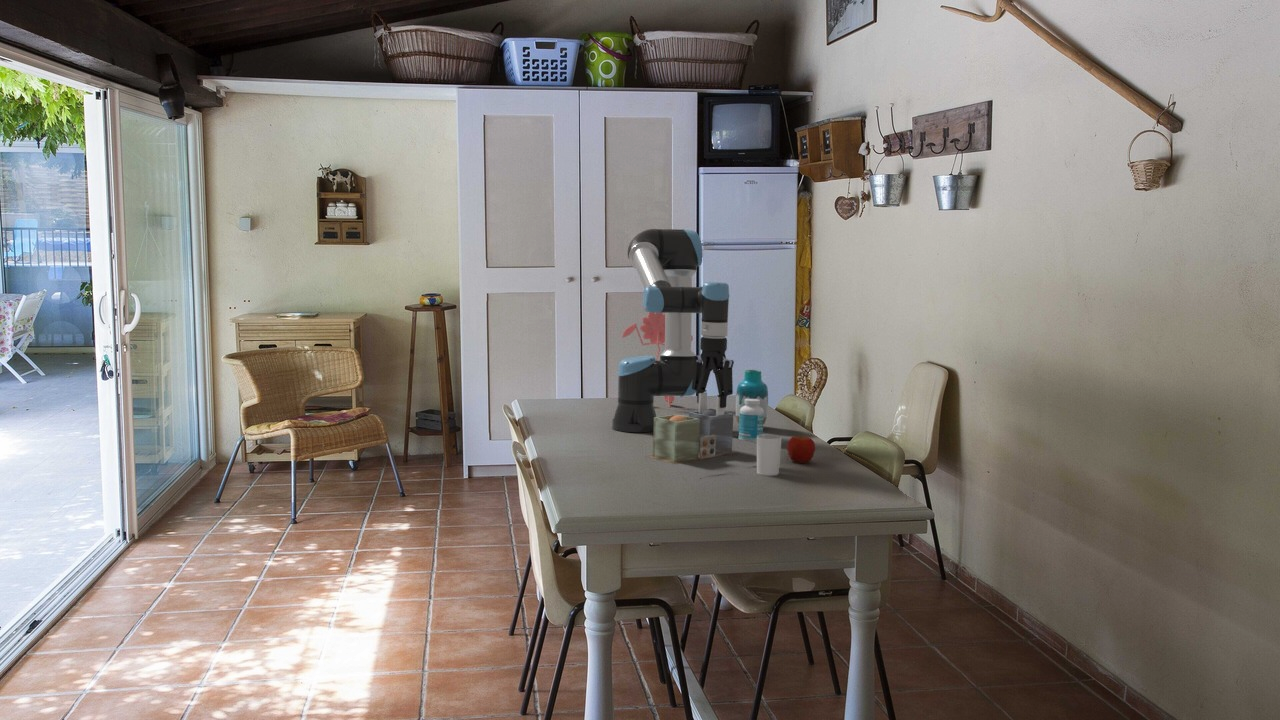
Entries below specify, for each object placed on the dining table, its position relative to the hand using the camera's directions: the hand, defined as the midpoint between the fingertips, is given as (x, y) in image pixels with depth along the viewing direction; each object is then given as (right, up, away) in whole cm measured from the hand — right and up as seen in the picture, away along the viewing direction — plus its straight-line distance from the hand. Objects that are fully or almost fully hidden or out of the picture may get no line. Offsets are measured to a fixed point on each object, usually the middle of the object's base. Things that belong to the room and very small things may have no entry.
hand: (711, 416), depth 292 cm
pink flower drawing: (-15, 0, +87) cm, 89 cm away
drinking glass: (+14, -14, -18) cm, 27 cm away
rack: (-5, -12, -3) cm, 13 cm away
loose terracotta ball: (-11, -4, -11) cm, 16 cm away
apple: (+25, -13, -3) cm, 28 cm away
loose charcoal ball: (0, -4, 0) cm, 4 cm away
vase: (+16, -6, +46) cm, 49 cm away
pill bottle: (+14, -9, +21) cm, 27 cm away
